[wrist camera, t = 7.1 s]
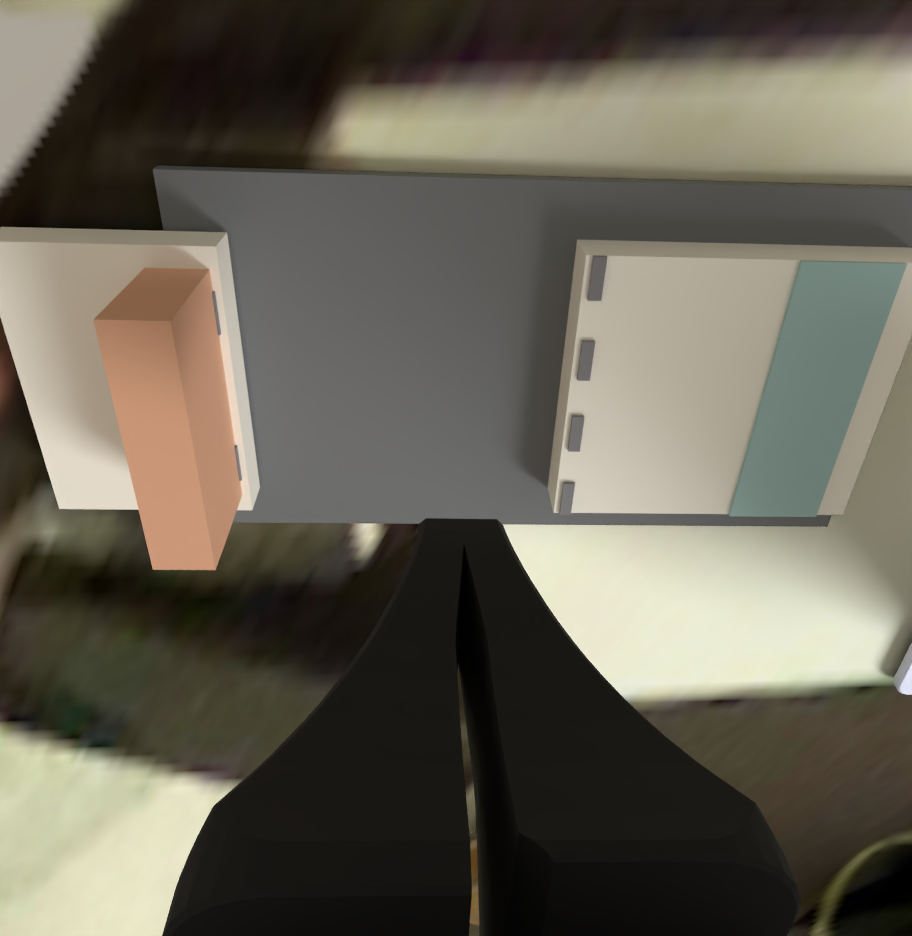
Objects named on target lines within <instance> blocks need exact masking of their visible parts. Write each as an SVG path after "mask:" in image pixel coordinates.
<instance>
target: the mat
mask: <svg viewBox="0 0 912 936" xmlns="http://www.w3.org/2000/svg"><path fill="white" fill-rule="evenodd" d="M153 174H154V180H155V186H156V191H157V197H158V203H159V209H160V214H161V220H162V226H163V231H194V232H227V235H228V243H229V251H230V259H231V266H232V274H233V282H234V290H235V297H236V305H237V313H238V321H239V328H240V336H241V344H242V351H243V359H244V367H245V375H246V382H247V390H248V398H249V406H250V413H251V421H252V429H253V437H254V444H255V452H256V460H257V468H258V475H259V483H260V489H259V492H258V495H257V498H256V501H255V504H254V507H253V510H237V511H236V514H235V517H234V520H233V522H266V523H406V524H419V523H421V522H422V521H423V520H424V519H426V518H448V519H497V520H498V521H499V522H500V523H501V524H546V525H685V526H825V527H827V526H828V523H829V520H830V518H831V515H817V516H816V517H753V516H729V514H647V513H571V515H560V514H559V513H554V512H553V508H552V504H551V500H550V496H549V491H548V480H549V472H550V464H551V455H552V447H553V438H554V430H555V422H556V413H557V405H558V396H559V388H560V380H561V371H562V363H563V354H564V346H565V338H566V329H567V321H568V312H569V304H570V296H571V287H572V279H573V271H574V262H575V254H576V245H577V240H618V241H659V242H700V243H742V244H783V245H824V246H866V247H907V248H912V187H910V186H874V185H838V184H802V183H767V182H731V181H695V180H659V179H623V178H588V177H552V176H516V175H480V174H444V173H409V172H373V171H337V170H301V169H265V168H230V167H194V166H157V167H155V168H154V169H153Z"/></svg>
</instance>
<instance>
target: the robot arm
mask: <svg viewBox="0 0 912 936" xmlns="http://www.w3.org/2000/svg"><path fill="white" fill-rule="evenodd" d="M458 663H459V671H460V679H461V687H462V695H463V703H464V710H465V718H466V726H467V733H468V741H469V749H470V757H471V764H472V772H473V782H474V793H475V807H476V836H477V866H478V899H479V934H480V936H787V934H788V932H789V930H790V928H791V926H792V924H793V922H794V921H795V919H796V916H797V913H798V909H799V905H800V902H801V901H800V897H799V893H798V888H797V885H796V882H795V880H794V877H793V875H792V872H791V870H790V867H789V865H788V862H787V860H786V858H785V856H784V853H783V852H782V850H781V848H780V846H779V844H778V842H777V840H776V838H775V837H774V835H773V833H772V831H771V829H770V827H769V826H768V824H767V822H766V820H765V818H764V816H763V815H762V813H761V811H760V809H759V808H758V806H757V804H756V803H755V802H753V801H752V800H750V799H749V798H747V797H746V796H745V795H743V794H742V793H740V792H739V791H737V790H736V789H735V788H733V787H732V786H730V785H729V784H727V783H726V782H725V781H723V780H722V779H720V778H719V777H717V776H716V775H715V774H713V773H712V772H710V771H709V770H707V769H706V768H705V767H703V766H702V765H700V764H699V763H698V762H696V761H695V760H694V759H693V758H691V757H690V756H689V755H688V754H686V753H685V752H684V751H683V750H681V749H680V748H679V747H678V746H676V745H675V744H674V743H673V742H671V741H670V740H669V739H668V738H666V737H665V736H664V735H663V734H662V733H661V732H660V731H659V730H658V729H657V728H655V727H654V726H653V725H652V724H651V723H650V722H649V721H648V720H647V719H646V718H645V717H643V716H642V715H641V714H640V713H639V712H638V711H637V710H636V709H635V708H634V707H633V706H631V705H630V704H629V703H628V702H627V701H626V700H625V699H624V698H623V697H622V696H621V695H620V694H619V693H618V692H617V691H616V690H615V688H614V687H613V686H612V685H611V684H610V683H609V682H608V681H607V680H606V679H605V678H604V677H603V676H602V675H601V674H600V672H599V671H598V670H597V669H596V668H595V667H594V666H593V665H592V663H591V662H590V661H589V660H588V659H587V658H586V656H585V655H584V654H583V653H582V652H581V650H580V649H579V648H578V647H577V645H576V644H575V643H574V642H573V640H572V639H571V638H570V636H569V635H568V634H567V632H566V631H565V630H564V628H563V627H562V626H561V624H560V623H559V622H558V620H557V619H556V618H555V616H554V615H553V613H552V612H551V610H550V609H549V607H548V606H547V605H546V603H545V601H544V600H543V598H542V597H541V595H540V594H539V592H538V590H537V589H536V587H535V586H534V584H533V583H532V581H531V579H530V578H529V576H528V574H527V573H526V571H525V569H524V567H523V566H522V564H521V562H520V560H519V558H518V557H517V555H516V553H515V551H514V549H513V547H512V545H511V543H510V541H509V539H508V536H507V534H506V532H505V529H504V527H503V525H502V524H501V523H500V522H499V521H498V520H497V519H448V518H426V519H424V520H423V521H422V522H421V523H419V528H418V534H417V538H416V541H415V545H414V548H413V550H412V553H411V556H410V558H409V561H408V563H407V566H406V568H405V571H404V573H403V575H402V577H401V579H400V581H399V583H398V585H397V587H396V589H395V592H394V594H393V596H392V598H391V600H390V601H389V603H388V605H387V607H386V609H385V610H384V612H383V614H382V615H381V617H380V619H379V621H378V622H377V624H376V626H375V628H374V629H373V631H372V633H371V634H370V636H369V637H368V639H367V641H366V642H365V644H364V645H363V647H362V648H361V650H360V651H359V653H358V654H357V656H356V657H355V658H354V660H353V661H352V663H351V664H350V665H349V667H348V668H347V670H346V671H345V672H344V674H343V675H342V676H341V678H340V679H339V680H338V681H337V683H336V684H335V685H334V686H333V688H332V689H331V690H330V691H329V693H328V694H327V695H326V696H325V698H324V699H323V700H322V701H321V702H320V704H319V705H318V706H317V707H316V708H315V709H314V711H313V712H312V713H311V714H310V715H309V716H308V717H307V718H306V720H305V721H304V722H303V723H302V724H301V725H300V726H299V727H298V728H297V729H296V730H295V731H294V732H293V733H292V734H291V735H290V736H289V737H288V738H287V739H286V740H285V741H284V742H283V743H282V744H281V745H280V746H279V747H278V749H277V750H276V751H275V752H274V753H273V754H272V755H271V756H270V757H269V758H267V759H266V760H265V761H264V762H263V763H262V764H261V765H260V766H259V767H258V768H257V769H255V770H254V771H253V772H252V773H251V774H250V775H249V776H247V777H246V778H245V779H244V780H243V781H242V782H241V783H239V784H238V785H237V786H236V787H235V788H234V789H233V790H231V791H230V792H229V793H228V794H227V795H226V796H225V797H223V798H222V799H221V800H220V801H219V802H218V803H216V804H215V805H214V806H213V808H212V810H211V812H210V814H209V815H208V817H207V819H206V821H205V823H204V825H203V827H202V829H201V831H200V833H199V834H198V836H197V839H196V841H195V843H194V845H193V847H192V849H191V851H190V854H189V856H188V858H187V861H186V863H185V866H184V868H183V871H182V873H181V875H180V878H179V881H178V883H177V886H176V889H175V893H174V896H173V900H172V903H171V907H170V910H169V914H168V918H167V921H166V925H165V928H164V932H163V935H162V936H469V925H470V912H471V900H472V875H471V851H470V835H469V825H468V815H467V804H466V792H465V781H464V769H463V756H462V742H461V728H460V713H459V697H458V680H457V670H458ZM893 683H894V685H895V686H896V688H897V689H898V691H899V692H900V693H902V694H908V695H912V643H911V645H910V647H909V649H908V651H907V653H906V655H905V657H904V659H903V661H902V663H901V665H900V667H899V669H898V671H897V673H896V675H895V677H894V680H893Z"/></svg>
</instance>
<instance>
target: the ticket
mask: <svg viewBox="0 0 912 936" xmlns="http://www.w3.org/2000/svg"><path fill="white" fill-rule="evenodd" d="M911 336H912V248H907V247H866V246H824V245H783V244H742V243H700V242H659V241H618V240H577V245H576V254H575V262H574V271H573V279H572V287H571V296H570V304H569V312H568V321H567V329H566V338H565V346H564V354H563V363H562V371H561V380H560V388H559V396H558V405H557V413H556V422H555V430H554V438H553V447H552V455H551V464H550V472H549V480H548V491H549V496H550V500H551V504H552V508H553V512H554V513H559V514H560V515H571V513H647V514H729V516H753V517H816V516H817V515H843V514H844V511H845V508H846V506H847V503H848V501H849V498H850V495H851V493H852V490H853V487H854V485H855V482H856V480H857V477H858V474H859V472H860V469H861V467H862V464H863V461H864V459H865V456H866V454H867V451H868V448H869V446H870V443H871V441H872V438H873V435H874V433H875V430H876V427H877V425H878V422H879V420H880V417H881V414H882V412H883V409H884V407H885V404H886V401H887V399H888V396H889V394H890V391H891V388H892V386H893V383H894V380H895V378H896V375H897V373H898V370H899V367H900V365H901V362H902V360H903V357H904V354H905V352H906V349H907V347H908V344H909V341H910V339H911Z"/></svg>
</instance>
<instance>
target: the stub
mask: <svg viewBox="0 0 912 936" xmlns="http://www.w3.org/2000/svg"><path fill="white" fill-rule="evenodd" d="M0 318H1V321H2V324H3V327H4V331H5V334H6V337H7V340H8V344H9V347H10V350H11V353H12V357H13V360H14V363H15V366H16V370H17V373H18V376H19V379H20V383H21V386H22V389H23V392H24V395H25V399H26V402H27V405H28V408H29V412H30V415H31V418H32V421H33V425H34V428H35V431H36V434H37V438H38V441H39V444H40V447H41V451H42V454H43V457H44V460H45V464H46V467H47V470H48V473H49V477H50V480H51V483H52V486H53V490H54V493H55V496H56V499H57V503H58V506H59V509H137V510H139V513H140V517H141V521H142V526H143V530H144V534H145V538H146V542H147V547H148V551H149V555H150V559H151V563H152V568H153V570H216V567H217V564H218V561H219V559H220V556H221V553H222V550H223V547H224V545H225V542H226V539H227V536H228V534H229V531H230V528H231V525H232V522H233V520H234V517H235V514H236V511H237V510H253V507H254V504H255V501H256V498H257V495H258V492H259V489H260V483H259V475H258V468H257V460H256V452H255V444H254V437H253V429H252V421H251V413H250V406H249V398H248V390H247V382H246V375H245V367H244V359H243V351H242V344H241V336H240V328H239V321H238V313H237V305H236V297H235V290H234V282H233V274H232V266H231V259H230V251H229V243H228V235H227V232H194V231H153V230H111V229H70V228H29V227H0Z"/></svg>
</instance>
